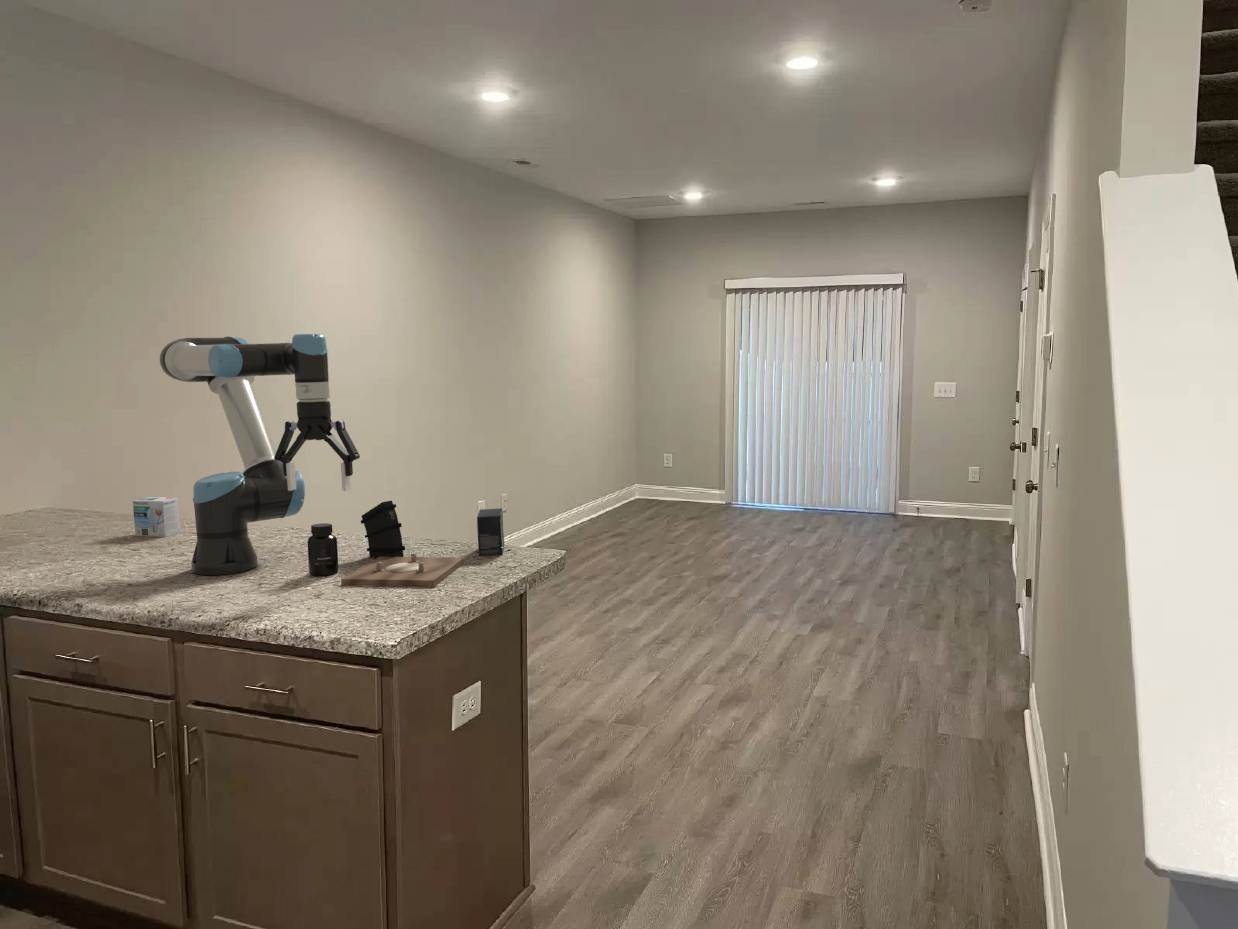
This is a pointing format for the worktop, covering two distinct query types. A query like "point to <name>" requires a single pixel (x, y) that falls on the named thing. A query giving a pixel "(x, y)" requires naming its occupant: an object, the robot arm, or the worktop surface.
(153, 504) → the light bulb box
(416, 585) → the board
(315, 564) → the supplement bottle
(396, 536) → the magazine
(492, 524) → the small box
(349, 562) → the worktop surface
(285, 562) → the worktop surface
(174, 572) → the worktop surface
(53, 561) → the worktop surface
